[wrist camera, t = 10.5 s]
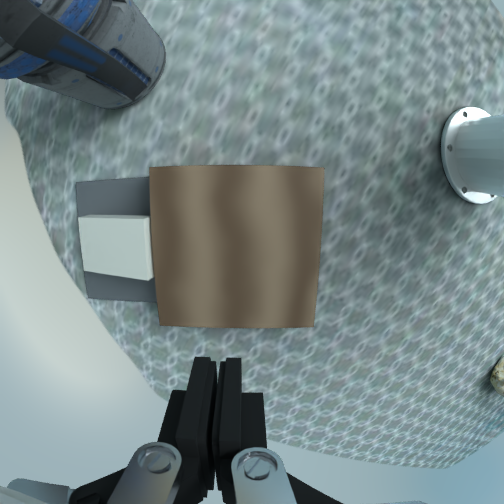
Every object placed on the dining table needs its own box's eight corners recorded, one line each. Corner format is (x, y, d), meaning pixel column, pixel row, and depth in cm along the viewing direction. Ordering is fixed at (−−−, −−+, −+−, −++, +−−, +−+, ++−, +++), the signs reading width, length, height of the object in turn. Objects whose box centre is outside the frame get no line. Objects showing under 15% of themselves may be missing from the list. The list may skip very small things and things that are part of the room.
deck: (314, 167, 31) (324, 167, 27) (306, 310, 35) (313, 327, 31) (160, 167, 31) (149, 167, 27) (168, 309, 35) (159, 325, 31)
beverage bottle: (129, 144, 30) (-71, 127, 6) (70, 72, 27) (-90, 12, 3) (201, 81, 28) (109, -83, 4) (133, 13, 25) (23, -113, 1)
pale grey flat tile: (154, 215, 29) (143, 219, 27) (158, 274, 31) (148, 280, 29) (90, 214, 31) (78, 217, 30) (95, 265, 33) (84, 270, 31)
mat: (157, 176, 31) (156, 176, 31) (164, 301, 35) (163, 302, 34) (77, 182, 31) (76, 182, 30) (89, 297, 34) (88, 298, 34)
